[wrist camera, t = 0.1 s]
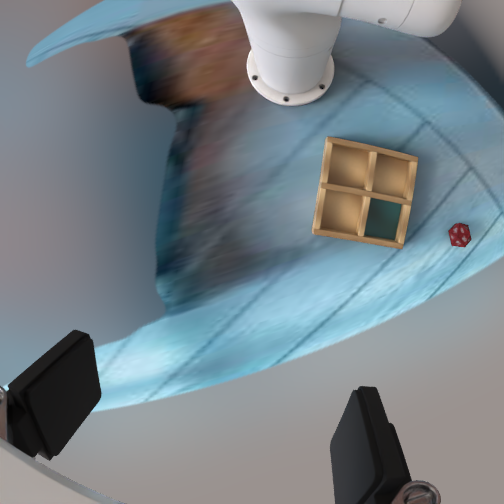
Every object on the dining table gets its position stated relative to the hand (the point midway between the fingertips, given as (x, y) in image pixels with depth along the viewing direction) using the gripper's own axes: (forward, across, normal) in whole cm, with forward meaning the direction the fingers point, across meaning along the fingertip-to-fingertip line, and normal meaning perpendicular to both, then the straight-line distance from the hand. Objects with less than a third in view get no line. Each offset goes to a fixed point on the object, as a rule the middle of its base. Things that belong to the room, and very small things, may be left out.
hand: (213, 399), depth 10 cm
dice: (+37, -30, -4) cm, 48 cm away
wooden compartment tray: (+37, -13, -7) cm, 40 cm away
